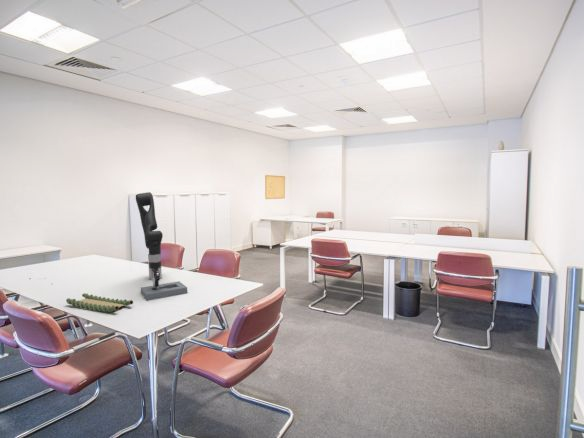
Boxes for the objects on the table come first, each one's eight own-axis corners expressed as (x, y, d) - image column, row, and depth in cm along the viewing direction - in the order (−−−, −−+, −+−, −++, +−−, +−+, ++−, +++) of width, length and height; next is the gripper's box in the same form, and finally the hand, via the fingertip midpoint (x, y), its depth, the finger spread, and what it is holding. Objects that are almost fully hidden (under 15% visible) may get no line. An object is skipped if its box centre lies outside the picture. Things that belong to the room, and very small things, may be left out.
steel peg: (150, 293, 221) (149, 276, 220) (160, 291, 224) (159, 274, 223) (152, 296, 216) (151, 278, 214) (162, 294, 219) (161, 276, 218)
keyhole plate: (140, 293, 223) (140, 287, 222) (179, 286, 238) (179, 281, 237) (146, 300, 208) (146, 294, 208) (187, 293, 223) (187, 287, 223)
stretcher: (134, 307, 197) (134, 299, 197) (114, 315, 184) (114, 307, 184) (86, 299, 212) (86, 291, 211) (64, 306, 198) (63, 298, 198)
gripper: (146, 259, 221) (147, 284, 223) (151, 263, 210) (152, 289, 212) (158, 258, 226) (159, 282, 227) (163, 261, 214) (164, 287, 216)
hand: (156, 285), depth 219 cm, fingers closed on steel peg, 3 cm apart
